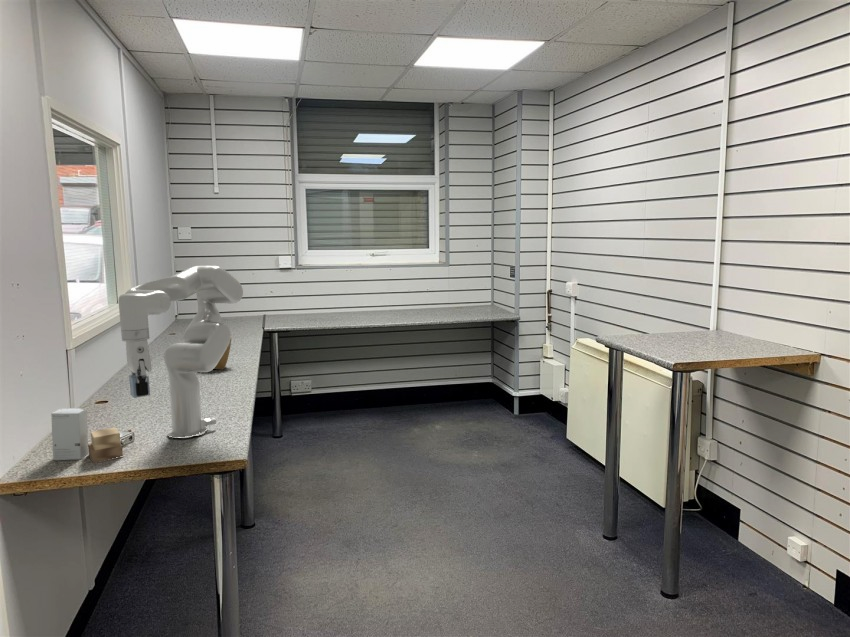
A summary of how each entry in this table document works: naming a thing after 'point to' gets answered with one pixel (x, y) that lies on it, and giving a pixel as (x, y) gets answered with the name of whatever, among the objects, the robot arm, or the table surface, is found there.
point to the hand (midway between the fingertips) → (140, 392)
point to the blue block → (133, 386)
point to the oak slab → (105, 438)
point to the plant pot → (224, 358)
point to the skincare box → (69, 434)
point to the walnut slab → (104, 453)
